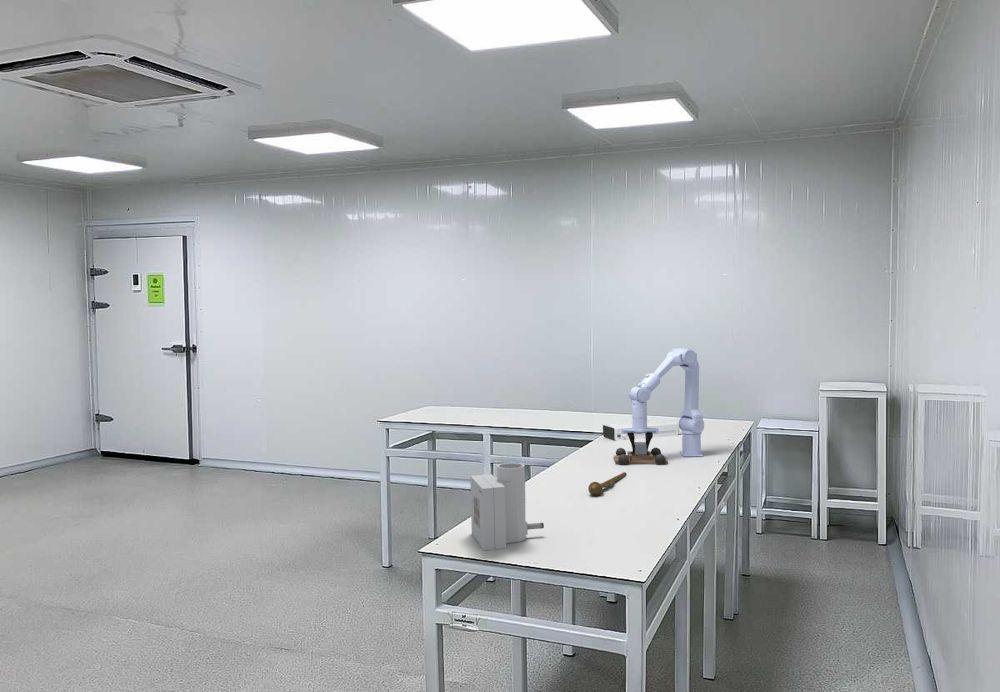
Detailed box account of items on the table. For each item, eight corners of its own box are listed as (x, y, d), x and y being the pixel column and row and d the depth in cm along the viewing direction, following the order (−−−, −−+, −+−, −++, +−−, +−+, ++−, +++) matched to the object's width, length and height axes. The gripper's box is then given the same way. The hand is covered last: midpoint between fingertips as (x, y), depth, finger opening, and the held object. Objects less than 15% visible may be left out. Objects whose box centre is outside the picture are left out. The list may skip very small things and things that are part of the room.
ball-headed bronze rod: (617, 479, 299) (630, 481, 296) (584, 496, 267) (598, 499, 265) (618, 466, 298) (631, 468, 296) (586, 482, 267) (599, 484, 265)
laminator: (666, 432, 392) (666, 419, 392) (680, 436, 380) (680, 423, 380) (602, 438, 381) (602, 424, 380) (615, 442, 369) (615, 428, 369)
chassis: (613, 457, 331) (613, 447, 331) (663, 457, 330) (663, 447, 329) (616, 465, 316) (615, 455, 316) (668, 464, 314) (668, 454, 314)
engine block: (633, 455, 326) (633, 442, 325) (645, 455, 325) (645, 442, 325) (635, 458, 320) (635, 444, 319) (646, 458, 319) (646, 444, 319)
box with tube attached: (470, 533, 227) (469, 462, 226) (535, 528, 232) (533, 458, 230) (482, 550, 212) (481, 474, 210) (551, 544, 216) (550, 469, 215)
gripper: (621, 419, 318) (622, 453, 319) (659, 418, 317) (659, 453, 318) (620, 416, 325) (620, 450, 326) (657, 416, 324) (657, 450, 325)
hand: (640, 451), depth 322 cm, fingers closed on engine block, 4 cm apart
